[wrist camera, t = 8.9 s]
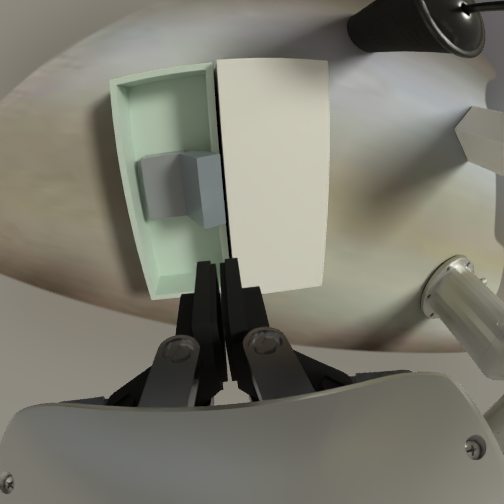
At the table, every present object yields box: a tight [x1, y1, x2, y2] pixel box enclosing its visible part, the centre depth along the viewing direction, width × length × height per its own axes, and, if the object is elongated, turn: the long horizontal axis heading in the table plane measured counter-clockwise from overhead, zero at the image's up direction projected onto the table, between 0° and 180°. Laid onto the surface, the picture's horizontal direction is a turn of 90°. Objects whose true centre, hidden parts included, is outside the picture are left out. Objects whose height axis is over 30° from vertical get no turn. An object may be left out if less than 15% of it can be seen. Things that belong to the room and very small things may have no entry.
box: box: [109, 62, 229, 300], centre depth 26 cm, size 9×22×4 cm, turn 3°
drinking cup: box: [347, 0, 504, 58], centre depth 13 cm, size 8×8×20 cm
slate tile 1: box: [179, 150, 226, 229], centre depth 24 cm, size 4×6×2 cm
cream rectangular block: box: [216, 58, 330, 294], centre depth 26 cm, size 9×22×5 cm, turn 3°
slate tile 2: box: [140, 150, 187, 220], centre depth 26 cm, size 4×6×2 cm, turn 2°
